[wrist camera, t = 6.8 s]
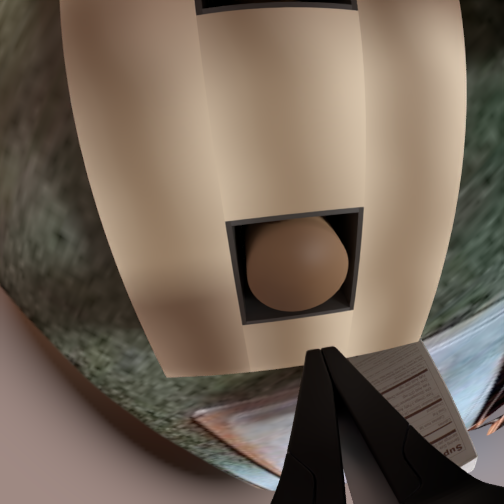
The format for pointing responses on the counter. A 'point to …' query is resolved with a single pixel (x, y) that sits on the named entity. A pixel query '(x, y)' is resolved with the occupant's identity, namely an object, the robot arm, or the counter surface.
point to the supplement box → (420, 398)
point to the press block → (269, 162)
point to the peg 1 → (251, 1)
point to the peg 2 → (294, 262)
